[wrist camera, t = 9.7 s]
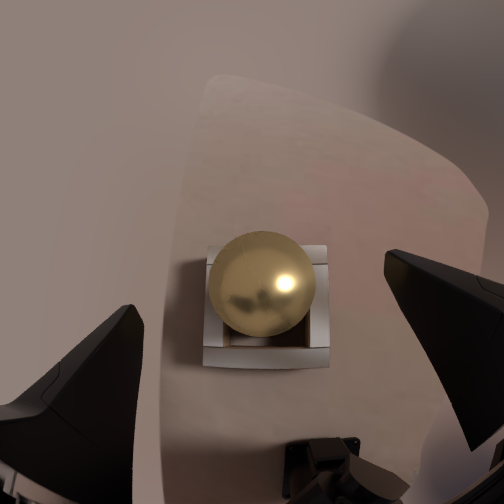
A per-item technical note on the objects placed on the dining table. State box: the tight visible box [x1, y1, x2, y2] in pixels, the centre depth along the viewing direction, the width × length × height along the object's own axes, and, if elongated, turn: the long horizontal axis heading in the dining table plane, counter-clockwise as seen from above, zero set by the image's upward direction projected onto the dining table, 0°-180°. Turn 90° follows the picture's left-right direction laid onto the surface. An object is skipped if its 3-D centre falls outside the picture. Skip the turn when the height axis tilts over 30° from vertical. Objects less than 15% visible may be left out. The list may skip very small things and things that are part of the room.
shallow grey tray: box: [203, 245, 330, 369], centre depth 20 cm, size 9×9×3 cm
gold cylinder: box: [208, 231, 316, 337], centre depth 16 cm, size 4×4×12 cm
